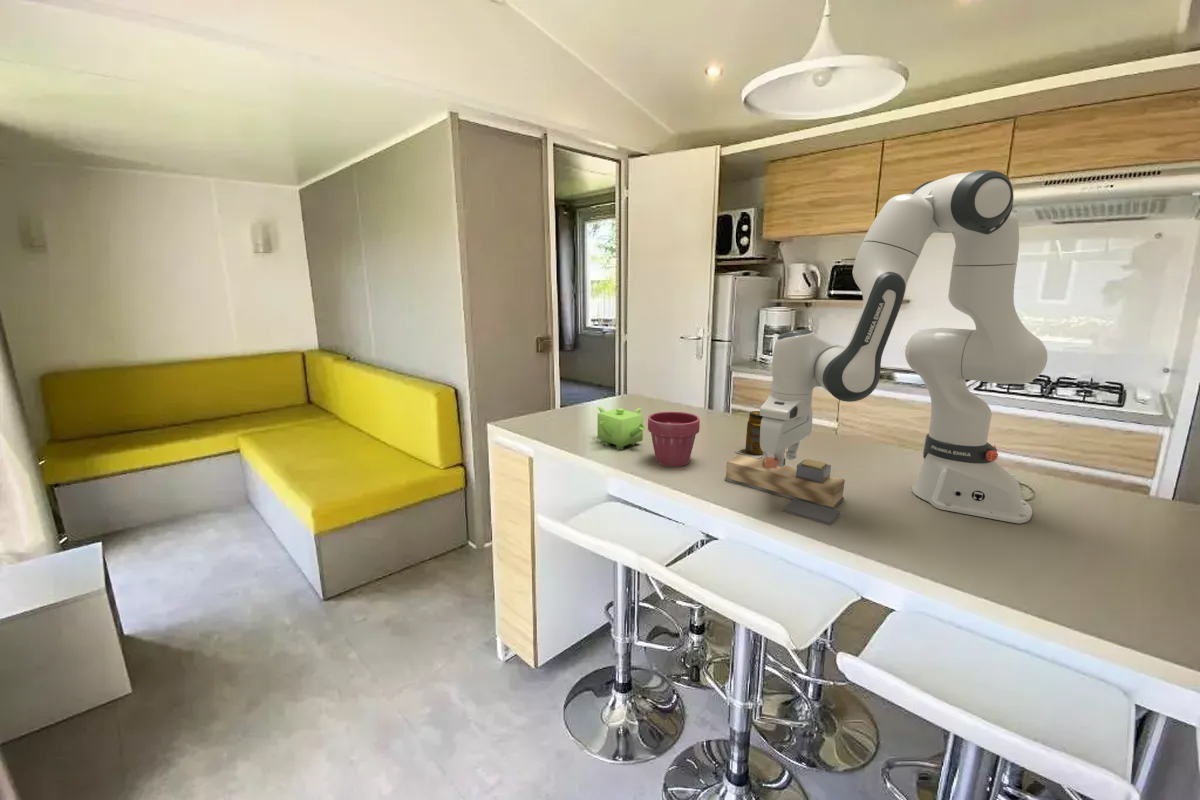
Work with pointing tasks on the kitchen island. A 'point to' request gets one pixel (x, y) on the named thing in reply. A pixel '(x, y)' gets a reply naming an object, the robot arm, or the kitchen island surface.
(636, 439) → the kettle
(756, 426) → the condiment
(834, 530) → the kitchen island surface
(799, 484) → the plane body
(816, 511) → the mat
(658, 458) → the plant pot
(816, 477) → the grey and tan block
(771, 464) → the latch lever
